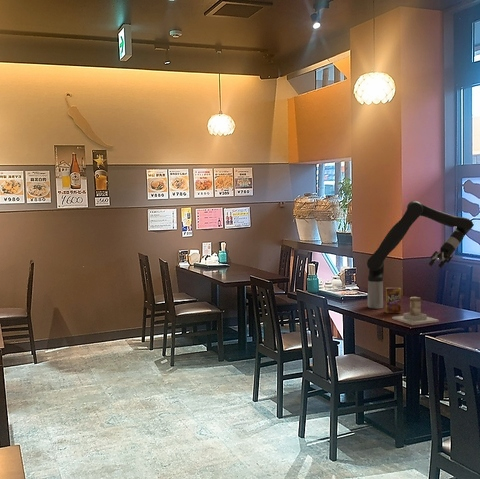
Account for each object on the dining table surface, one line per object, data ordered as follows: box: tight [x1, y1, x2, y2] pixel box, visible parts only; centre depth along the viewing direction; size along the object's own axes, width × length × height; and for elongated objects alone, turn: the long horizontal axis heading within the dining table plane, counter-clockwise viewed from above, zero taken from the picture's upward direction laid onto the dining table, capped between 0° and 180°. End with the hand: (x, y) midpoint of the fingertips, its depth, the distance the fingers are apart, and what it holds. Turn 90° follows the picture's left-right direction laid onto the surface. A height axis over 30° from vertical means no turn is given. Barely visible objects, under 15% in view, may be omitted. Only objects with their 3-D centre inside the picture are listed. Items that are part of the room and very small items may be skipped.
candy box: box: [384, 287, 402, 314], centre depth 355 cm, size 9×4×15 cm, turn 81°
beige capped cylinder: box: [409, 296, 422, 316], centre depth 331 cm, size 4×4×12 cm
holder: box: [391, 312, 439, 326], centre depth 332 cm, size 18×18×4 cm
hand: (434, 266), depth 345 cm, fingers open, 8 cm apart
